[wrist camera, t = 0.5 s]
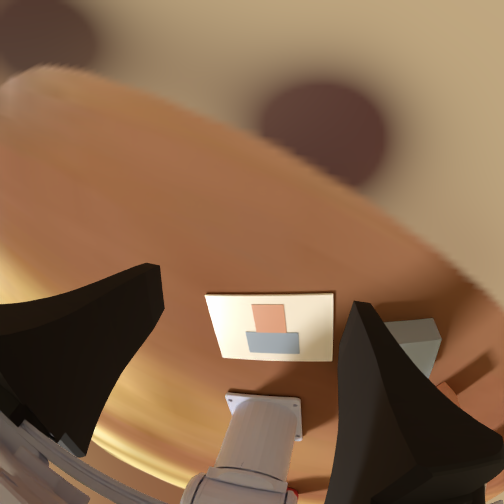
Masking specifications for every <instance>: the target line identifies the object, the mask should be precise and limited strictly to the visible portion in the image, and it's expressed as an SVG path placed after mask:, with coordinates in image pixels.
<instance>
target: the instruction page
mask: <svg viewBox="0 0 504 504" xmlns="http://www.w3.org/2000/svg"><path fill="white" fill-rule="evenodd" d="M205 298H206V301H207V305H208V308H209V312H210V316H211V319H212V323H213V326H214V330H215V333H216V336H217V340H218V343H219V347H220V350H221V353H222V356H223V358H235V359H250V360H270V361H332V355H333V293H318V294H206V295H205Z"/></svg>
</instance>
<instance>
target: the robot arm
mask: <svg viewBox="0 0 504 504" xmlns="http://www.w3.org/2000/svg"><path fill="white" fill-rule="evenodd" d="M164 309H165V308H164V299H163V291H162V282H161V272H160V265H155V264H150V263H144V264H141V265H138V266H135V267H132V268H130V269H127V270H124V271H122V272H120V273H117V274H115V275H112V276H110V277H107V278H105V279H102V280H100V281H97V282H95V283H92V284H89V285H87V286H84V287H81V288H79V289H76V290H73V291H70V292H67V293H63V294H60V295H56V296H52V297H48V298H43V299H38V300H33V301H28V302H21V303H12V304H0V504H88V502H89V500H90V497H89V496H87V495H86V494H85V493H83V492H81V491H80V490H79V489H77V488H76V487H74V486H73V485H72V484H70V483H69V482H67V481H66V480H65V479H64V478H62V477H61V476H60V475H58V474H57V473H56V472H54V471H53V470H52V469H51V468H49V462H48V460H49V461H50V462H51V463H53V464H54V465H56V466H57V467H58V468H60V469H61V470H62V471H64V472H65V473H67V474H68V475H70V476H71V477H73V478H74V479H76V480H77V481H79V482H80V483H82V484H83V485H85V486H87V487H88V488H90V489H91V490H93V491H95V492H97V493H98V494H100V495H102V496H104V497H105V498H107V499H109V500H111V501H113V502H114V503H116V504H168V503H165V502H163V501H160V500H157V499H155V498H153V497H150V496H148V495H146V494H144V493H141V492H139V491H137V490H135V489H132V488H131V487H128V486H126V485H124V484H122V483H120V482H118V481H116V480H115V479H113V478H111V477H109V476H107V475H105V474H103V473H102V472H100V471H98V470H96V469H95V468H93V467H91V466H89V465H88V464H86V463H84V462H83V461H81V460H80V459H78V458H77V457H84V456H86V454H87V450H88V447H89V444H90V441H91V438H92V435H93V432H94V429H95V427H96V424H97V422H98V419H99V417H100V414H101V412H102V410H103V408H104V405H105V403H106V401H107V399H108V397H109V395H110V393H111V391H112V389H113V387H114V386H115V384H116V382H117V380H118V378H119V376H120V375H121V373H122V372H123V370H124V369H125V367H126V366H127V364H128V363H129V362H130V360H131V359H132V358H133V356H134V355H135V354H136V352H137V351H138V349H139V348H140V347H141V345H142V344H143V343H144V341H145V340H146V339H147V337H148V336H149V335H150V333H151V332H152V330H153V329H154V327H155V326H156V324H157V322H158V320H159V318H160V316H161V315H162V313H163V311H164ZM225 398H226V400H227V403H228V406H229V408H230V411H231V413H232V418H231V421H230V424H229V427H228V429H227V432H226V435H225V438H224V440H223V443H222V446H221V449H220V451H219V454H218V457H217V460H216V462H215V465H214V467H209V468H208V471H207V474H206V473H199V474H198V475H196V476H194V477H192V478H191V480H190V481H189V483H188V484H187V486H186V488H185V490H184V493H183V495H182V498H181V502H180V504H297V496H296V495H295V494H294V492H293V491H291V490H287V485H288V482H286V480H287V475H288V470H289V465H290V460H291V455H292V450H293V444H294V441H301V440H302V438H303V437H302V416H301V400H300V399H299V398H296V397H276V396H261V395H249V394H239V393H230V392H228V393H226V395H225ZM338 404H339V423H338V435H337V443H336V450H335V456H334V462H333V468H332V473H331V478H330V483H329V487H328V491H327V495H326V499H325V503H324V504H471V503H472V501H473V497H472V492H474V491H475V490H477V489H478V488H480V487H481V486H483V485H484V484H486V483H487V482H489V481H490V480H492V479H493V478H494V477H496V476H497V475H498V474H500V473H501V472H502V470H503V469H504V442H503V438H502V436H501V435H500V434H498V433H496V432H495V431H493V430H491V429H490V428H488V427H486V426H485V425H483V424H481V423H480V422H478V421H477V420H475V419H474V418H473V417H471V416H470V415H469V414H467V413H466V412H465V411H463V410H462V409H461V408H459V407H458V406H457V405H456V404H454V403H453V402H452V401H451V400H450V399H449V398H448V397H447V396H445V395H444V394H443V393H442V392H441V391H440V390H439V389H438V388H437V387H436V386H435V385H434V384H433V383H432V382H431V381H430V380H429V379H428V378H427V377H426V376H425V375H424V374H423V373H422V372H421V371H420V370H419V368H418V367H417V366H416V365H415V364H414V363H413V361H412V360H411V359H410V358H409V356H408V355H407V354H406V353H405V351H404V350H403V349H402V347H401V346H400V345H399V343H398V342H397V341H396V339H395V338H394V337H393V335H392V334H391V332H390V331H389V329H388V328H387V327H386V325H385V324H384V322H383V321H382V319H381V318H380V316H379V315H378V313H377V312H376V311H375V309H374V308H373V306H372V305H371V304H370V303H365V302H359V301H354V302H353V305H352V308H351V311H350V314H349V317H348V321H347V324H346V327H345V330H344V333H343V335H342V338H341V341H340V344H339V356H338ZM49 438H50V439H49ZM52 440H53V441H54V442H53V441H52ZM56 443H57V444H56ZM59 445H60V446H61V447H60V446H59ZM63 448H64V449H63ZM66 450H67V451H66ZM69 452H70V453H69ZM72 454H73V455H72ZM75 456H76V457H75ZM286 490H287V491H286ZM491 504H503V500H499V501H496V502H494V503H491Z"/></svg>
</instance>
